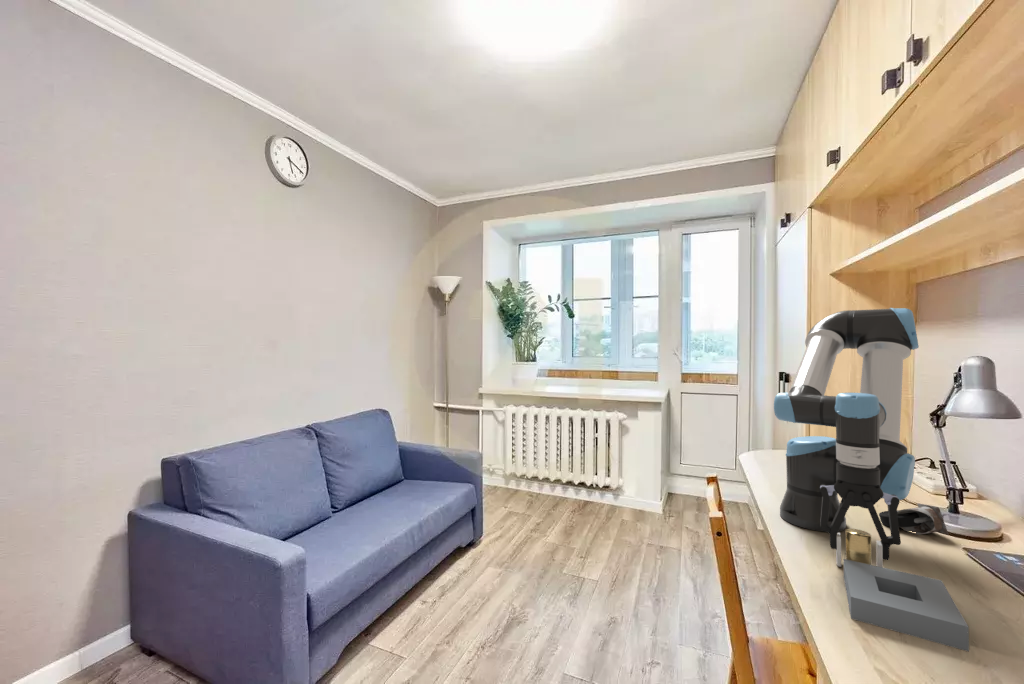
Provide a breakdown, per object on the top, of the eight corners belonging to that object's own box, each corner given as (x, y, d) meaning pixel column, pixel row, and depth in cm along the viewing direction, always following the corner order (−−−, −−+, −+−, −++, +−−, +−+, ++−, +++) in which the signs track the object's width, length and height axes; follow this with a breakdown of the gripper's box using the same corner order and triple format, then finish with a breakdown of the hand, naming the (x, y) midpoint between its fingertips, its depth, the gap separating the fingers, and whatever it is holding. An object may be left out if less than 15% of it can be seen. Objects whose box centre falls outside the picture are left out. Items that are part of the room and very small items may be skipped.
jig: (843, 577, 91) (843, 558, 91) (941, 601, 82) (941, 580, 82) (850, 618, 77) (850, 596, 77) (968, 651, 69) (968, 626, 69)
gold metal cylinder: (845, 561, 97) (844, 526, 97) (870, 567, 94) (869, 531, 94) (846, 570, 93) (846, 534, 93) (872, 576, 91) (872, 539, 91)
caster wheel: (876, 530, 118) (913, 525, 118) (910, 540, 107) (951, 534, 107) (868, 505, 120) (905, 500, 119) (900, 512, 109) (941, 506, 108)
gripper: (804, 461, 96) (805, 563, 96) (921, 475, 85) (922, 590, 85) (804, 453, 102) (805, 549, 102) (913, 466, 91) (914, 573, 91)
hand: (858, 568), depth 94 cm, fingers open, 6 cm apart
